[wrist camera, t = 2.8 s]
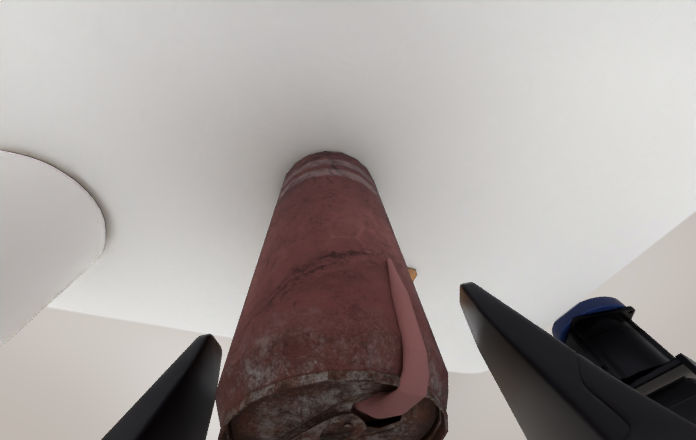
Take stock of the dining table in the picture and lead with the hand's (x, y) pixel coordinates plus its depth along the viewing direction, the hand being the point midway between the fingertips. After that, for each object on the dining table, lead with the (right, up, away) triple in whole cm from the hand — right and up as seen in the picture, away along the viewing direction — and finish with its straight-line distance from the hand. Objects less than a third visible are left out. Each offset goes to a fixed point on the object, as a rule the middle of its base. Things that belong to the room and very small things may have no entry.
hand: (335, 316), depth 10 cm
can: (-1, +5, +9) cm, 10 cm away
